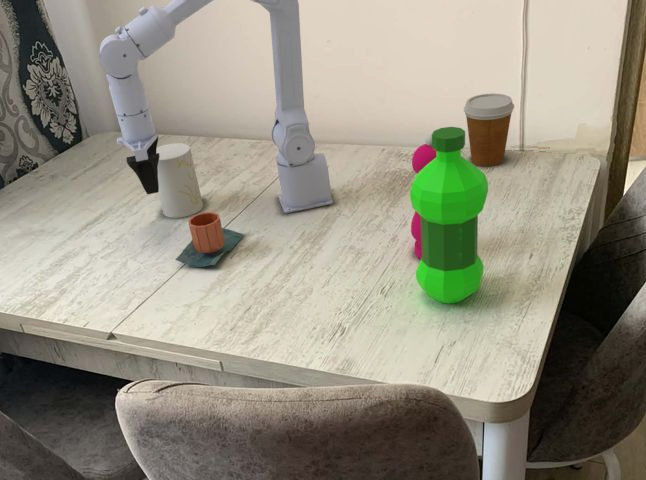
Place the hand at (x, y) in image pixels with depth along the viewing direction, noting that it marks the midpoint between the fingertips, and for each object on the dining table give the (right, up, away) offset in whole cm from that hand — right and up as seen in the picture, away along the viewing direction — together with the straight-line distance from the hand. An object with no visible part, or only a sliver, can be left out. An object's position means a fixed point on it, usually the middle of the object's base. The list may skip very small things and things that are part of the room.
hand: (152, 184), depth 133 cm
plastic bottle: (+50, -22, -23) cm, 59 cm away
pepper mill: (+49, -14, -12) cm, 53 cm away
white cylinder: (+3, -2, +14) cm, 14 cm away
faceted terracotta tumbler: (+11, -12, -4) cm, 17 cm away
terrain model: (+11, -13, -3) cm, 17 cm away
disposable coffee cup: (+65, +8, +14) cm, 67 cm away
